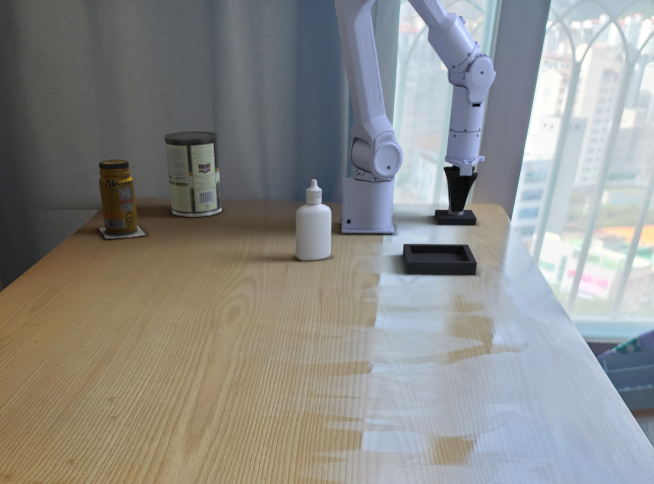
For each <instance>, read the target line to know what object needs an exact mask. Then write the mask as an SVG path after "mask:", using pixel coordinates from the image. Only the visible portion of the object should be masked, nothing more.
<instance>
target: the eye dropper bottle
mask: <svg viewBox="0 0 654 484" xmlns="http://www.w3.org/2000/svg"><path fill="white" fill-rule="evenodd" d="M322 195H323V190H322V188H320V187H319V186H318V181H317V179H311V182H310V186H309V187H308V188H306V191H305V203H306V204H304V205H301V206H300V207H298V209H297V210H296V212H295V257H296V258H297V259H298V260H300V261H302V262H303V261H305V262H308V261H311V262H312V261H319V260H325V259H327V258H330V256H331V250H332V247H331V246H332V210H331V208H330V207H329V206H328V205H326V204H323V203H322Z"/></svg>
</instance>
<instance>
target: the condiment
mask: <svg viewBox="0 0 654 484" xmlns="http://www.w3.org/2000/svg"><path fill="white" fill-rule="evenodd" d="M98 168H99V176H100V177H99V180H98V186H99V193H100V201H101V209H102V214H103V224H104V226H102V227H98V229H99V231H100V233H101V234H102V235H103V237H104V238H105V239H123V238H133V237H141V236H142V237H143V236H146V233H145V232H144V230H142V228H140V226H139V223H138V213H137V212H138V211H137V206H136V196H135V188H134V179H133V177H132V176H131V170H130V163H129V162H128V160H126V159H105V160H102V161H99V163H98Z"/></svg>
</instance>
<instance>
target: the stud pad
mask: <svg viewBox="0 0 654 484" xmlns="http://www.w3.org/2000/svg"><path fill="white" fill-rule="evenodd" d="M434 217H435V218H434V219H435V220H436V223H437V225H438V226H440V225H441V226H443V225H444V226H445V225H447V226H449V225H450V226H476V225H477V217H476V215H475V213H474V212H473V210H472V209H464V210H463V212H452V211H451V203H450V200H448V209H434Z"/></svg>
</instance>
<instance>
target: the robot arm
mask: <svg viewBox="0 0 654 484" xmlns="http://www.w3.org/2000/svg"><path fill="white" fill-rule="evenodd" d="M375 1H376V0H334V9H335V15H336V22H337V26H338V33H339V39H340V45H341V49H342V56H343V61H344V67H345V68H344V69H345V73H346V78H347V84H348V91H349V97H350V103H351V107H352V114H353V119H354V122H353V125H352V126H351V129H350V131H349V133H350V139H351V140H350V147H349V152H348V154H349V156H348V157H349V160H350V163H351V165H352V167H354V173H353V176H352V177H343V179H342V202H341V203H342V204H341V205H342V209H341V210H340V211H339V221H340V222H341V233H342V234H388V235H390V234H394V233H395V227H394V221H393V206H394V194H395V193H394V191H395V177H396V174H397V173H398V172H399V171H400V169H401V167H402V164H403V160H404V153H403V149H402V147H401V145H400V144H399V143H398V141H397V138H396V134H395V129H394V127H393V125H392V123H391V122H390V120H389V118H388V116H387V113H386V107H385V100H384V99H385V98H384V94H383V87H382V81H381V73H380V66H379V61H378V53H377V52H378V51H377V46H376V39H375V33H374V26H373V25H374V24H373V19H372V12H371V8H372V6H373V5H374V3H375ZM407 1H408V3H409V4H410V5H411V7H412V8H413V9H414V11H415V12H416V14H417V15H418V16H419V17H420V19H421V20H422V22H424V24H425V25H426V26H427V28H428V31H427V32H428V33H427V41H428V43H429V44H430V46H431V48H432V49H433V50H434V52H435V54H436V55H437V56H438V58H439V59H440V61H441V62H442V64H443V65H444V66H445V69H447V80H448V83H449V84H451V86H452V97H451V105H450V106H451V107H450V116H449V124H448V125H449V126H448V135H447V144H446V153H445V156H444V162H445V163H447V164H450V166H449V165H448V166H447V165H446V166H443V167H442V169H443V171H444V175H445V178H446V185H447V197H448V201H449V200H450V203H451V211H452V212H463V210H465V207H466V204H467V200H468V198H469V194H470V191H471V189H472V187H473V185H474V183H475V182H476V180H477V179H478V177H479V173H478V172H476V171H475V169H476V168H475V165H476V164H478V163H480V162H485V160H486V159H485V158H486V157H485V156H484V155H479V152H480V145H481V138H482V137H481V136H482V129H483V122H484V121H483V120H484V114H485V113H484V112H485V105H486V104H485V103H486V99H487V97H488V91H489V89H490V88H491V86H492V85H493V83H494V81H495V79H496V76H497V71H495V70H494V69H495V67H494V62H493V60H492V58H491V57H490V56H489V55H488V54H487V53H483V52H481V49H480V48H481V44H480V43H479V42H478V41H475V40H474V38H473V36H472V35H471V34H470V32H469V30H468V29H467V28H466V26H465V25H466V24H467V20H466V19H465V17H464V16H462V15H458V13H456V12H447V11H446V9H445V8H444V6H443V4H442V2H441V0H407Z"/></svg>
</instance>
